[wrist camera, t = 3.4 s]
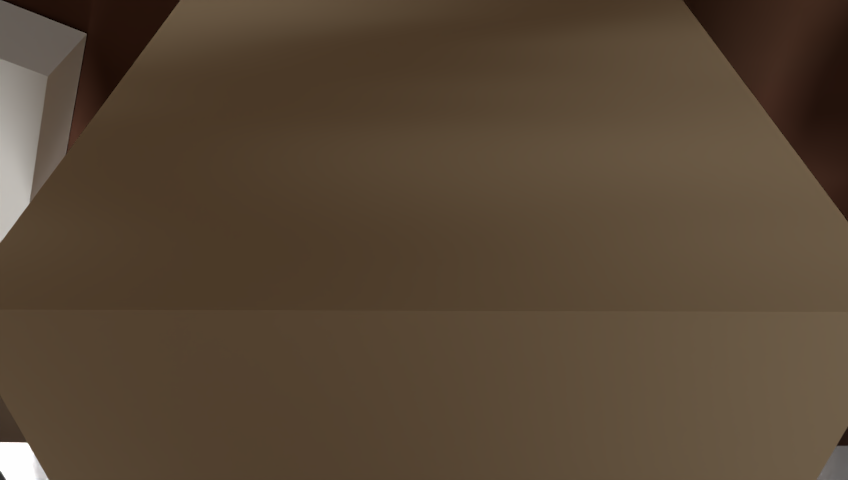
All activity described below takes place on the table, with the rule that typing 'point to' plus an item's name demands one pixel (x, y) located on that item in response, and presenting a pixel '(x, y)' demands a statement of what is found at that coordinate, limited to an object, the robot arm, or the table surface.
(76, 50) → the small wooden cabinet
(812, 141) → the table surface
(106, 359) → the cardboard box
